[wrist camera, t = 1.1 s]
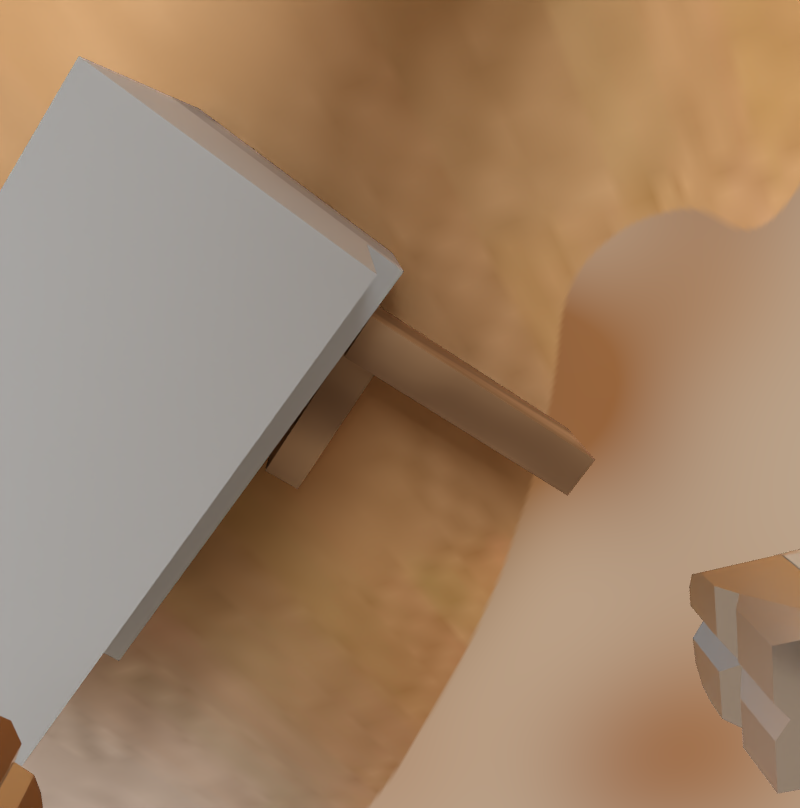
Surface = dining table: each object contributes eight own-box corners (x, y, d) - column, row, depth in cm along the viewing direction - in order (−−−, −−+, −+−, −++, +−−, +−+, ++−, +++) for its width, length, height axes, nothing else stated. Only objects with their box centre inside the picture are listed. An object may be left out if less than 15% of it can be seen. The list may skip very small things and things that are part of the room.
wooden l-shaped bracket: (367, 299, 40) (371, 316, 36) (567, 428, 44) (595, 459, 39) (271, 447, 43) (262, 482, 38) (468, 560, 46) (482, 605, 41)
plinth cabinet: (198, 108, 37) (78, 56, 20) (392, 253, 40) (429, 312, 23) (-33, 475, 42) (-285, 680, 25) (155, 581, 44) (42, 829, 28)
